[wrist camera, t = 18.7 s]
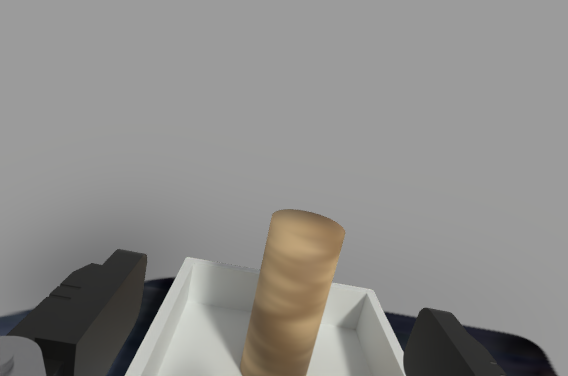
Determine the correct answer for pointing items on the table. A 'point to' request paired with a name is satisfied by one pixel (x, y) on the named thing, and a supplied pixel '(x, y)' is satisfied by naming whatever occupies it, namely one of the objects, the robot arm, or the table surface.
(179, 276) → the tote
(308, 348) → the wooden cylinder
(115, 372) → the table surface
